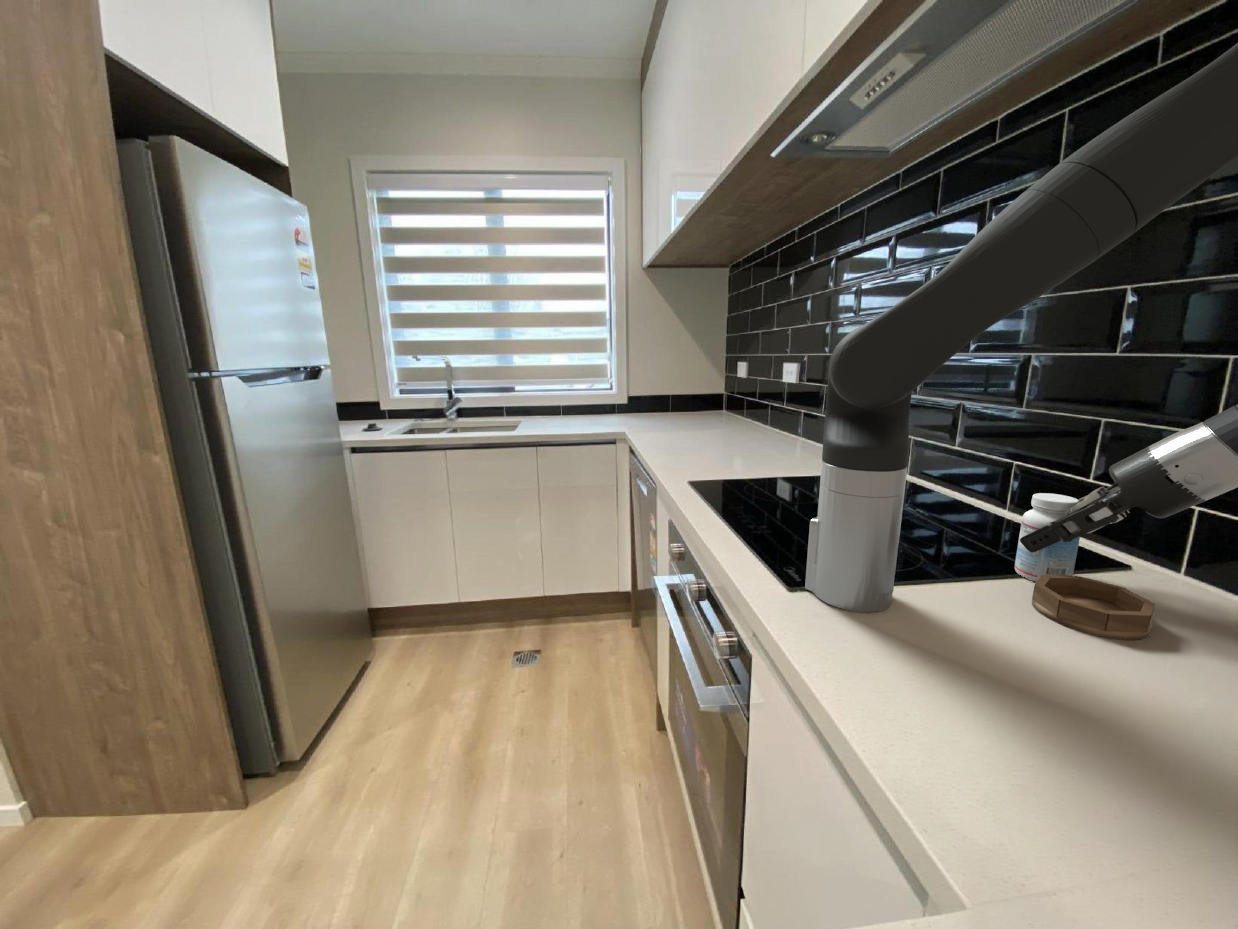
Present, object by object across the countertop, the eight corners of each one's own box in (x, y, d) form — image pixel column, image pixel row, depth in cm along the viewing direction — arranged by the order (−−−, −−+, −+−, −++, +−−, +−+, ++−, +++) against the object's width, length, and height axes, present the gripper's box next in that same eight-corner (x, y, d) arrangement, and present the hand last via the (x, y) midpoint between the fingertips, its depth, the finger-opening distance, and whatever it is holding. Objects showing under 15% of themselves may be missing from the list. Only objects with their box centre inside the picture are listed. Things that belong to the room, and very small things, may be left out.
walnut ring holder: (1021, 612, 58) (1025, 591, 57) (1043, 587, 64) (1047, 567, 63) (1144, 651, 50) (1150, 626, 50) (1155, 618, 56) (1160, 596, 56)
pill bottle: (1071, 575, 67) (1087, 496, 65) (1070, 591, 63) (1087, 507, 60) (1015, 563, 71) (1028, 488, 69) (1010, 577, 67) (1024, 498, 65)
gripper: (1158, 437, 62) (1026, 505, 73) (1144, 452, 53) (995, 527, 64) (1213, 487, 59) (1066, 549, 70) (1207, 511, 50) (1040, 578, 61)
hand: (1033, 539), depth 67 cm, fingers open, 7 cm apart
